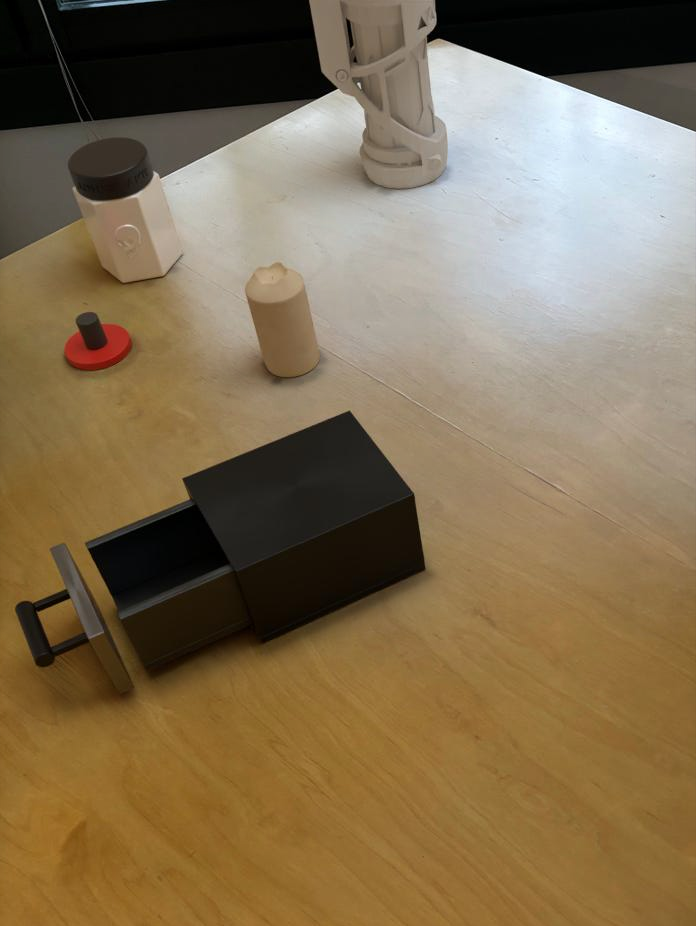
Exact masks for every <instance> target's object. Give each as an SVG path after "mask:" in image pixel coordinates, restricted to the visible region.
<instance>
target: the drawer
mask: <svg viewBox="0 0 696 926" xmlns="http://www.w3.org/2000/svg"><path fill="white" fill-rule="evenodd" d="M84 545H85V546H86V549H87V551H88V553H89V555H90V558H91V559H92V561H93V563H94V565H95V567H96V569H97V571H98V573H99V574H100V577H101V579H102V580H103V582H104V584H105V586H106V588H107V590H108V592H109V594H110V596H111V599H112V600H113V602H114V605H115V606H116V608H117V611H118V612H116V615H117V617H118V618H119V621H120V623H121V624H122V627H123V629H124V630H125V632H126V634H127V637H128V638H129V640H130V642H131V644H132V645H133V647H134V650H135V651H136V654H137V655H138V657H139V659H140V661H141V663H142V665H143V667H144V669H145V670H146V672H149V671H151V670H153V669H156V668H158V667H160V666H163V665H164V664H167V663H169V662H171V661H174V660H176V659H177V658H180V657H182V656H184V655H187V654H189V653H191V652H194V651H195V650H198V649H199V648H203V647H204V646H206V645H209V644H211V643H213V642H216V641H218V640H220V639H222V638H224V637H226V636H229V635H231V634H233V633H235V632H238V631H239V630H242V629H244V628H247V627H249V626H252V625H251V624H253V622H252V619H251V616H250V613H249V611H248V608H247V605H246V602H245V600H244V597H243V594H242V592H241V589H240V586H239V583H238V581H237V578H236V575H235V572H234V571H233V569H232V567H231V565H230V564H229V562H228V560H227V558H226V557H225V555H224V553H223V551H222V550H221V548H220V546H219V544H218V543H217V541H216V539H215V538H214V536H213V534H212V532H211V531H210V529H209V527H208V525H207V524H206V522H205V520H204V518H203V517H202V515H201V513H200V511H199V510H198V508H197V506H196V504H195V503H194V501H193V499H190V498H189V499H187V500H185V501H182V502H180V503H178V504H177V503H176V504H175V505H172V506H170V507H168V508H166V509H163V510H161V511H158V512H156V513H153V514H151V515H148V516H146V517H144V518H140V519H138V520H136V521H134V522H131V523H129V524H126V525H124V526H121V527H119V528H117V529H115V530H112V531H110V532H107V533H105V534H103V535H100V536H97V537H95V538H92V539H90V540H88V541H85V542H84ZM49 551H50V553H51V556H52V559H53V561H54V563H55V565H56V567H57V570H58V572H59V574H60V577H61V579H62V581H63V584H64V586H65V589H62V590H59V591H58V592H55V593H53V594H50V595H48V596H46V597H43V598H42V599H39V600H36V601H34V602H32V601H30V600H22V601H20V602H18V603H17V604H16V605H15V607H14V612H15V615H16V617H17V619H18V621H19V625H20V627H21V630H22V633H23V635H24V638H25V640H26V643H27V646H28V648H29V651H30V654H31V657H32V658H33V661H34V664H35V666H37V667H39V668H48V667H50V666H51V665H53V664H54V663H55V661H56V657H59V656H61V655H63V654H65V653H68V652H71V651H73V650H75V649H77V648H79V647H82V646H84V645H86V644H88V643H90V645H91V647H92V648H93V650H94V652H95V654H96V655H97V657H98V660H99V661H100V662H101V665H102V666H103V667H104V669H105V671H106V673H107V675H108V676H109V678H110V680H111V682H112V683H113V686H114V687H115V689H116V691H117V692H118V694H119V695H121V694H123V693H125V692H127V691H130V690H132V689H134V688H135V684H134V683H133V681H132V678H131V676H130V674H129V672H128V670H127V667H126V665H125V662H124V660H123V659H122V657H121V656H122V655H121V654H120V652H119V649H118V646H117V644H116V643H115V640H114V637H113V636H112V634H111V632H110V629H109V627H108V625H107V623H106V620H105V618H104V616H103V614H102V611H101V609H100V607H99V604H98V602H97V600H96V598H95V596H94V594H93V593H92V591H91V589H90V587H89V585H88V583H87V581H86V580H85V578H84V576H83V574H82V572H81V569H80V568H79V566H78V565H77V563H76V561H75V559H74V556H73V555H72V554H71V551H70V550H69V548H68V546H67V544H66V542H61V543H59V544H56V545H54V546H51V547H50V548H49ZM68 600H71V603H72V605H73V607H74V609H75V612H76V614H77V617H78V619H79V621H80V624H81V626H82V628H83V631H84V632H82V633H80V634H77V635H75V636H72V637H70V638H68V639H66V640H64V641H61V642H59V643H56V644H54V645H52V646H51V644H50V641H49V639H48V636H47V634H46V630H45V629H44V626H43V624H42V621H41V618H40V616H39V613H40V612H42V611H44V610H47V609H49V608H51V607H54V606H56V605H58V604H61V603H64V602H66V601H68Z"/></svg>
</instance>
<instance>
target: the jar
mask: <svg viewBox="0 0 696 926" xmlns="http://www.w3.org/2000/svg"><path fill="white" fill-rule="evenodd" d="M67 169H68V171H69V172H68V173H69V174H70V177H71V179H72V183H73V185H74V186H73V187H72V192H73V195H74V197H75V200H76V203H77V205H78V207H79V210H80V213H81V215H82V219H83V220H84V223H85V226H86V228H87V231H88V233H89V236H90V238H91V242H92V244H93V247H94V249H95V252H96V255H97V257H98V260H99V262H100V265H101V267H102V268H103V269H104V270H106V271H107V272H108V273H110V274H111V276H113V277H114V278H116V279H117V280H119V281H120V282H121V283H122V284H126V283H131V282H132V283H133V282H138V281H143V280H149V279H155V278H161V277H164V276H165V275H166V274H167V273H168V272H169V271H170V269H171V268H172V267H173V266H174V265H175V264H176V262H178V261H179V259H180V258H181V256H182V255H183V254H184V251H183V248H182V245H181V241H180V237H179V235H178V232H177V229H176V226H175V222H174V219H173V216H172V213H171V210H170V206H169V203H168V200H167V196H166V194H165V191H164V187H163V184H162V181H161V177H160V174H159V173H158V172H156V171H155V170H154V169H153V165H152V163H151V159H150V156H149V153H148V149H147V147H146V146H145V145H144V143H142V142H141V141H139V140H137V139H135V138H130V137H124V136H123V137H122V136H121V137H119V136H118V137H117V136H116V137H108V138H107V137H106V138H102V139H97V140H95V141H92V142H89V143H87V144H85V145H83V146H81V147H79V148H78V149H77V150H75V151H74V152H73V153H72V154H71V156H70V157H69V158H68V161H67Z"/></svg>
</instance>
